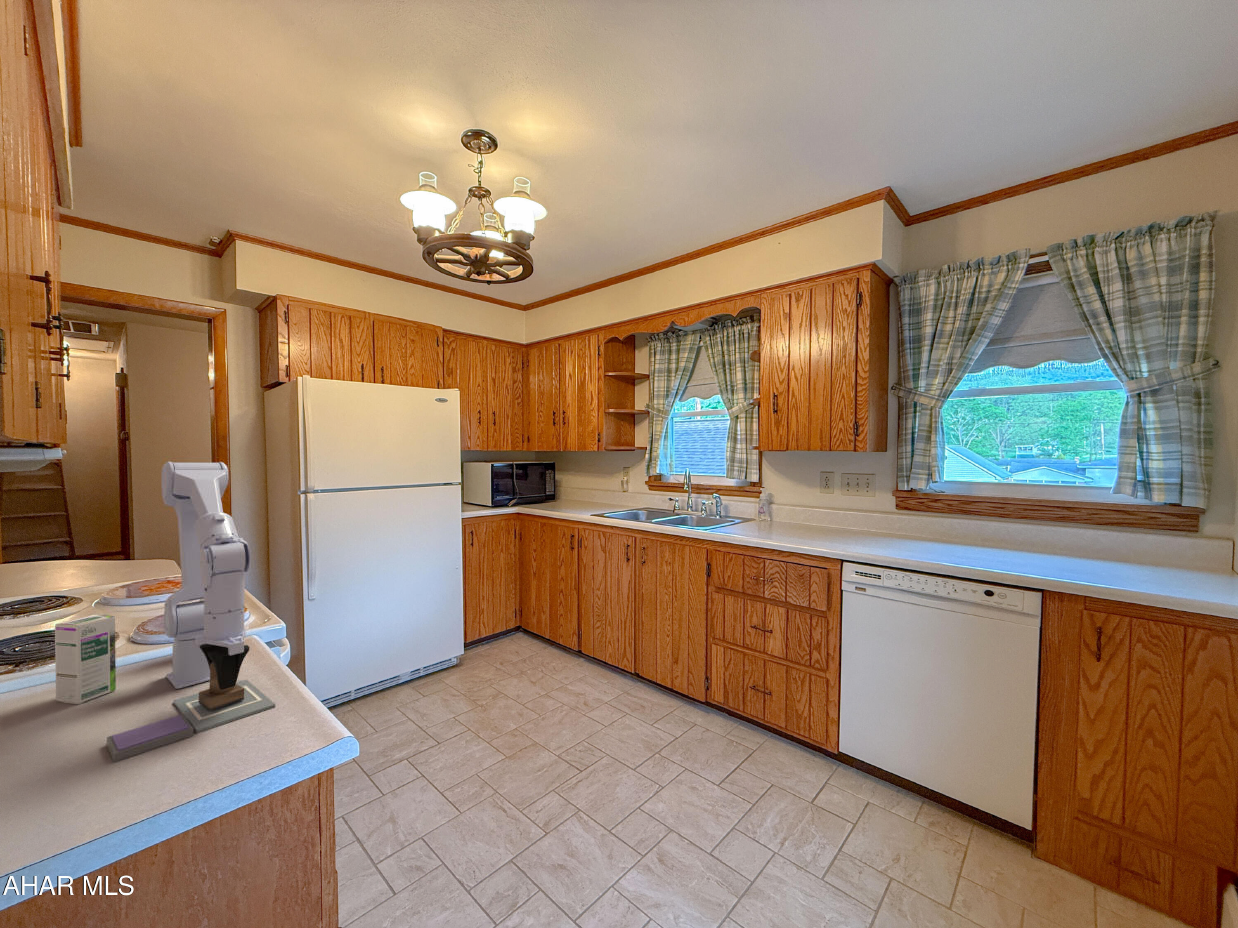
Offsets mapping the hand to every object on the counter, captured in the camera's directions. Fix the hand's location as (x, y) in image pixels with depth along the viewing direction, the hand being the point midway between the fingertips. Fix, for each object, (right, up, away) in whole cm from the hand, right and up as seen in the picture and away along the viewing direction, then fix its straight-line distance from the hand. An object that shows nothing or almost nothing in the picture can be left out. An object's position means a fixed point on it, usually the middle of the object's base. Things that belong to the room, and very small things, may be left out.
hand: (224, 684), depth 89 cm
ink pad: (-2, -4, -11) cm, 12 cm away
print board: (0, -4, 0) cm, 4 cm away
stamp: (0, -3, 0) cm, 3 cm away
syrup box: (-28, -4, +3) cm, 29 cm away
